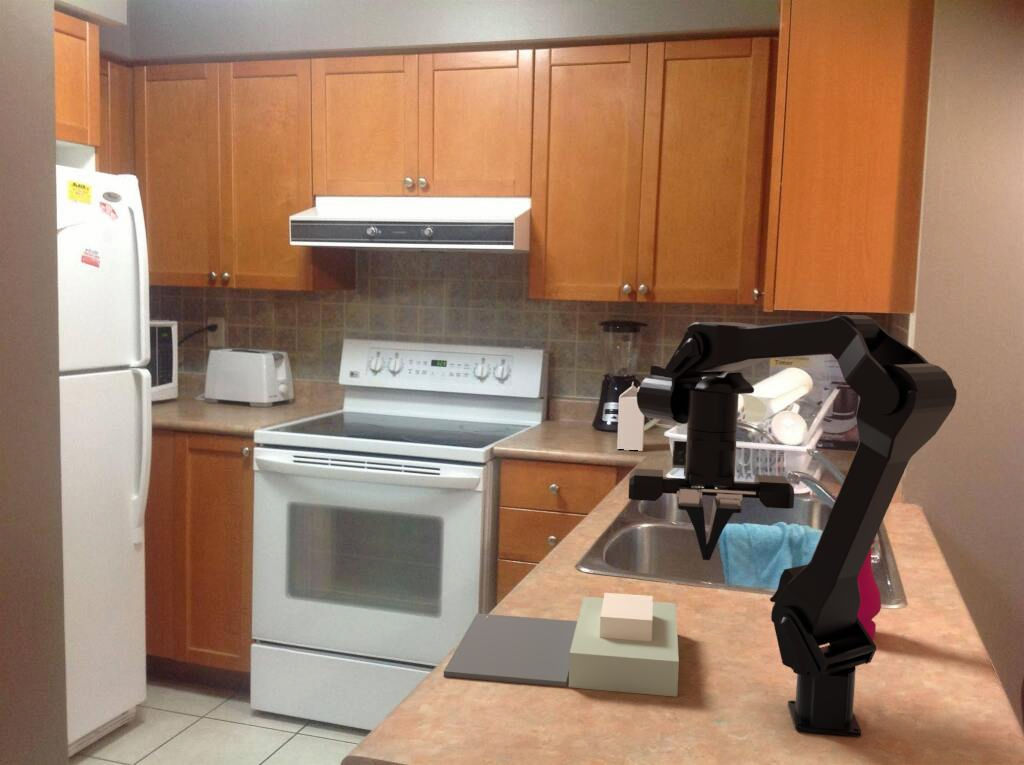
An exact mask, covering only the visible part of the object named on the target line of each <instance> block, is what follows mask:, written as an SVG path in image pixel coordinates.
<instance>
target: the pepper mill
mask: <svg viewBox="0 0 1024 765" xmlns="http://www.w3.org/2000/svg"><path fill="white" fill-rule="evenodd" d="M876 539H877V536H876V537H875V539H874V541H873V543H872V546H871V548H870V550H869V552H868V555H867V557H866V559H865V562H864V564H863V566H862V568H861V571H860V573H859V576H858V586H859V592H860V598H861V602H860V606H859V611H858V615H857V617H858V619H859V620H860V622H861V623H862V625H863V626H864V628H865V630H866V631H867V633H868V634H869V636H870V637H871V639H872V640H874V639H875V638H876V628H877V627H876V623H875V621H874V620H873V619H874V618H875V617H876V616H878V614H879V613H880V612H881V609H882V598H881V594H880V589H879V586H878V584H877V581H876V578H875V576H874V573H873V567H872V553H873V552H872V550H873V548H874V547H876V546H877V543H876Z"/></svg>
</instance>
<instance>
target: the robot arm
mask: <svg viewBox="0 0 1024 765" xmlns="http://www.w3.org/2000/svg"><path fill="white" fill-rule="evenodd" d="M811 356H812V357H813V356H814V357H816V356H817V357H818V356H833V357H834V359H835V360H836V361H837V363H838V366H839V369H840V371H841V373H842V374H841V375H842V377H843V379H844V381H845V383H846V384H847V385H848V386H849V387H850V388H851V389H852V391H854V393H855V394H856V395H857V396H858V397H859V400H858V404H857V409H856V413H855V419H856V425H857V432H858V438H859V441H858V445H857V448H856V450H855V453H854V454H853V458H852V460H851V462H850V465H849V467H848V470H847V472H846V474H845V477H844V479H843V482H842V484H841V485H840V486H841V487H840V489H839V491H838V494H837V496H836V499H835V501H834V503H833V505H832V508H831V511H830V512H829V516H828V517H827V520H826V522H825V525H824V527H823V530H822V531H821V535H820V537H819V539H818V542H817V544H816V547H815V549H814V552H813V554H812V557H811V558H810V561H809V562H808V563H807V564H803V565H798V566H794V567H788V568H785V569H783V572H782V573H781V574H780V577H779V581H778V586H777V588H776V591H775V593H774V594H773V595H772V596H771V597H770V598H769V601H770V602H771V603H773V605H772V609H771V613H770V614H771V616H770V619H771V622H772V623H773V627H774V632H775V636H776V642H777V644H778V650H779V654H780V659H781V663H782V664H783V666H785V667H788V668H791V670H792V671H793V673H794V674H796V689H795V691H796V693H795V700H791V699H790V700H788V701H787V708H788V712H789V714H790V717H791V718H790V719H791V720H792V723H793V726H794V729H795V730H796V731H799V732H807V733H818V734H827V735H839V736H852V737H861V736H862V729H861V727H860V725H859V722H858V721H857V720H858V719H856V716H855V713H854V702H855V701H854V698H855V686H856V682H855V681H856V671H857V670H856V668H857V667H858V666H861V665H867V664H870V663H871V662H872V660H873V658H874V655H875V653H876V652H877V646H876V643H875V642H874V641H873V639H871V637H870V636H869V634H868V633H867V631H866V630H865V628H864V626H863V625H862V623H861V622H860V620H859V619H858V617H857V615H858V611H859V606H860V602H861V598H860V592H859V586H858V576H859V573H860V571H861V568H862V566H863V564H864V562H865V559H866V557H867V555H868V552H869V550H870V548H871V546H872V543H873V541H874V539H875V537H876V538H877V534H878V532H879V529H880V527H881V524H882V522H883V521H884V519H885V516H886V514H887V511H888V510H889V507H890V504H891V503H892V500H893V498H894V495H895V493H896V492H897V489H898V486H899V484H900V482H901V479H902V477H903V475H904V472H905V470H906V468H907V466H908V464H909V462H910V460H911V459H912V457H913V456H914V455H915V454H916V453H918V451H919V450H920V449H921V448H922V447H923V446H924V445H925V444H927V443H928V442H929V441H930V440H931V439H932V438H933V437H934V436H936V434H937V432H938V431H939V429H940V428H941V427H942V425H943V424H944V422H945V421H946V419H947V418H948V417H949V415H950V414H951V413H952V411H953V409H954V407H955V404H956V402H957V394H958V393H957V389H956V388H955V386H954V382H953V380H952V378H951V376H950V375H949V374H948V372H947V371H946V370H944V369H943V368H942V367H941V366H939V365H936V364H934V363H930V362H929V361H927V360H926V359H925V357H923V355H921V354H920V353H919V352H918V351H916V350H915V349H913V348H912V347H911V346H909V345H908V344H906V343H904V342H903V341H901V340H899V339H898V338H897V337H895V336H893V335H892V334H890V333H889V332H888V331H887V330H886V329H885V328H884V327H882V325H881V324H879V322H878V321H876V320H875V319H874V318H872V317H870V316H868V315H861V314H860V315H859V314H858V315H857V314H855V315H854V314H852V315H849V314H848V315H847V314H846V315H845V314H843V315H842V314H839V315H835V316H834V317H831V318H826V319H825V318H824V319H817V320H816V319H815V320H804V321H796V322H795V321H794V322H786V323H784V322H783V323H776V324H767V325H765V324H764V325H756V324H752V323H751V324H750V323H745V322H744V323H743V322H736V321H733V322H731V321H727V322H725V321H722V322H721V321H719V322H718V321H710V322H709V321H706V322H705V321H703V322H702V321H700V322H699V321H697V322H696V321H695V322H693V323H691V324H689V325H688V326H687V328H686V331H685V333H684V335H683V338H682V340H681V341H680V343H679V345H678V346H677V348H676V350H675V352H673V355H672V357H670V360H669V361H668V363H667V364H652V365H650V370H649V371H650V372H649V375H647V376H646V377H645V378H644V379H643V380H642V382H641V384H640V385H639V387H640V388H639V391H638V392H637V404H638V408H639V409H640V411H641V413H642V414H643V415H644V417H646V418H648V419H649V418H650V419H654V420H659V421H664V422H665V421H666V422H671V423H676V424H683V425H685V424H687V428H686V429H687V430H686V440H682V441H681V440H673V441H672V462H671V467H672V468H673V469H683V476H684V478H681V477H680V478H679V477H664V470H663V469H652V468H651V469H649V468H634V469H633V470H632V471H631V472H630V473H629V480H628V499H629V500H633V501H647V502H651V501H652V502H656V501H657V500H658V499H659V498H661V497H662V496H663V494H671V495H672V494H673V495H674V494H675V495H676V504H677V505H676V506H677V510H679V511H680V510H681V511H686V514H687V515H688V518H689V520H690V522H691V525H692V527H693V529H694V532H695V536H696V540H697V544H698V548H699V551H700V554H701V558H702V561H710V560H711V558H712V556H713V554H714V551H715V548H716V547H717V544H718V542H719V539H720V537H721V535H722V532H724V529H725V528H726V525H727V524H728V522H729V520H730V519H731V518H732V516H733V514H742V512H743V508H742V505H741V501H743V498H746V499H747V498H749V499H758V500H759V502H761V504H762V505H763V506H764V507H765V508H769V509H770V508H771V509H785V510H786V509H788V510H789V509H794V506H795V505H794V504H795V487H794V486H793V485H792V483H791V482H790V480H789V479H787V477H786V476H785V475H769V474H767V475H765V474H755V476H754V481H737V480H735V479H736V478H735V477H736V461H737V460H736V458H737V457H736V456H737V436H738V435H737V434H738V416H739V413H738V412H739V398H740V397H739V396H740V395H744V394H753V393H754V392H755V387H753V386H752V384H751V383H750V382H749V381H748V380H746V379H745V377H744V376H743V373H742V372H739V370H741V369H745V368H750V367H752V366H756V365H757V364H759V363H761V362H763V361H767V360H770V359H771V360H773V359H783V358H785V359H786V358H799V357H811ZM731 371H733V372H731ZM734 371H737V372H734ZM723 375H725V376H723ZM722 376H723V377H722ZM703 496H707V497H709V496H710V497H711V496H712V497H713V496H714V497H713V499H712V500H713V501H712V510H711V516H710V522H709V528H708V534H706V524H705V512H704V503H703ZM875 540H876V539H875ZM827 644H828V645H827ZM823 645H825V646H823ZM820 646H822V647H820Z"/></svg>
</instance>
